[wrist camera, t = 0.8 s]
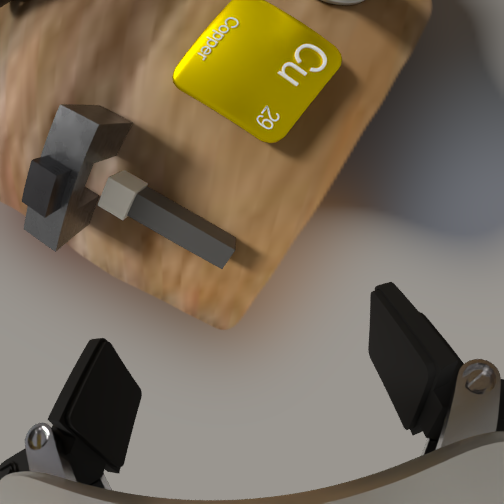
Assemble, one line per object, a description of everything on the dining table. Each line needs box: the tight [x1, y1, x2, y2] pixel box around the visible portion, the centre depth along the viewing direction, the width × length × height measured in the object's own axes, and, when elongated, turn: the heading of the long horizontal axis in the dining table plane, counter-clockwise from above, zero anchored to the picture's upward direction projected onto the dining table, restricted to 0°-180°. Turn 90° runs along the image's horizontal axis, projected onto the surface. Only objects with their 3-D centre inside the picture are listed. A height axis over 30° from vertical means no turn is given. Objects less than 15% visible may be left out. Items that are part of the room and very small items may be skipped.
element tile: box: [172, 0, 342, 143], centre depth 27 cm, size 15×15×5 cm
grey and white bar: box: [98, 170, 236, 269], centre depth 35 cm, size 4×18×5 cm, turn 57°
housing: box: [22, 105, 133, 252], centre depth 28 cm, size 16×6×12 cm, turn 147°
